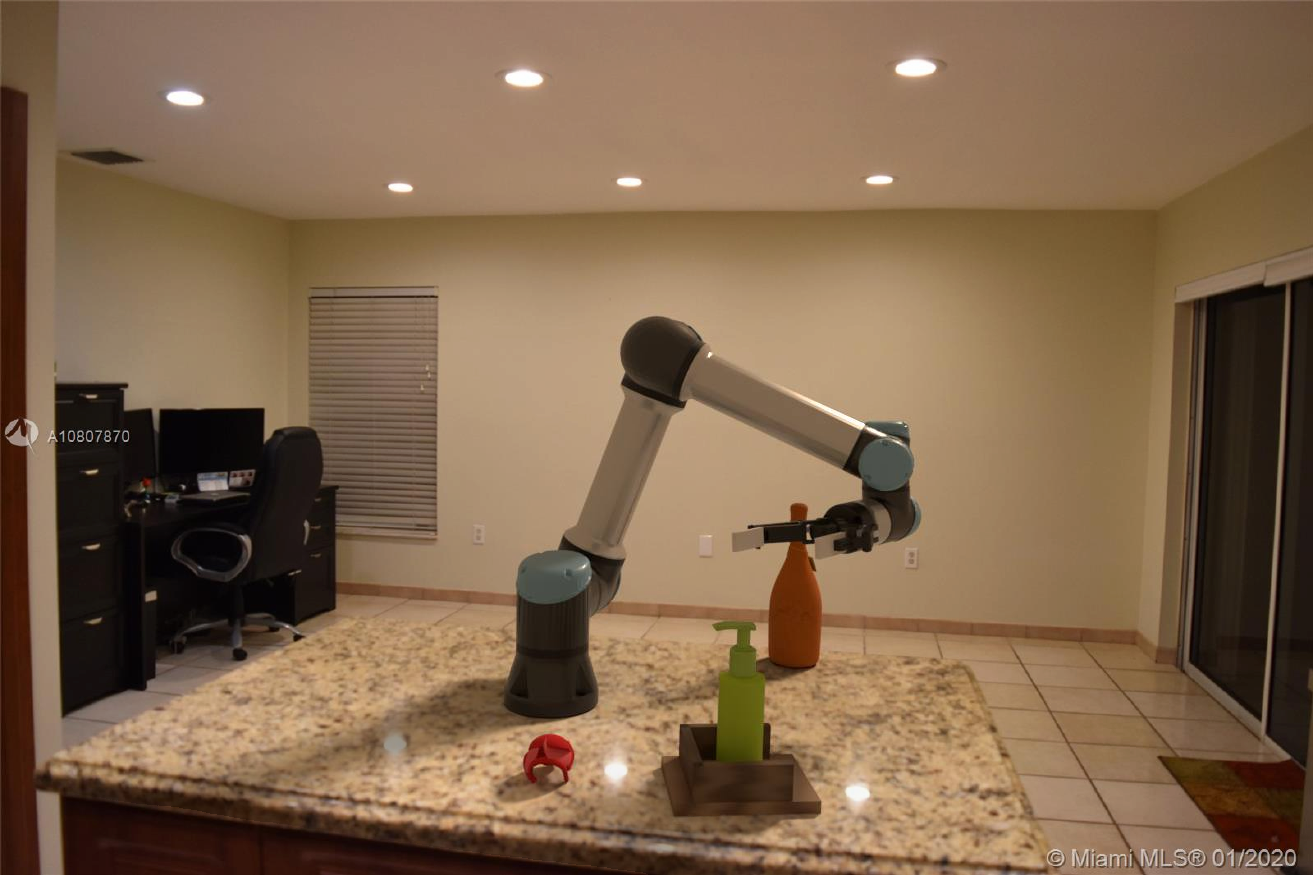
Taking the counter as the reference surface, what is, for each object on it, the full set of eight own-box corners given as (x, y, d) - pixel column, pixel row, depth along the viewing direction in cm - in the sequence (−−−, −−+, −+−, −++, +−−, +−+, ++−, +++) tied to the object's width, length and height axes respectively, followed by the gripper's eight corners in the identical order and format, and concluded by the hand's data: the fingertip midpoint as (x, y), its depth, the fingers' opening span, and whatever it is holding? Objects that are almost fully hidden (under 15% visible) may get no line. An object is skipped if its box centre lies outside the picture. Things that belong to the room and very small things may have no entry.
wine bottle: (819, 672, 164) (825, 508, 163) (765, 667, 166) (770, 505, 165) (820, 656, 174) (826, 501, 172) (769, 652, 176) (774, 498, 174)
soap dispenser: (704, 766, 119) (709, 616, 118) (756, 766, 119) (762, 616, 118) (711, 786, 113) (716, 628, 112) (765, 786, 113) (771, 629, 112)
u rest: (673, 816, 108) (675, 767, 108) (661, 766, 122) (662, 723, 122) (821, 813, 110) (822, 765, 110) (791, 764, 124) (793, 721, 123)
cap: (580, 766, 114) (584, 727, 119) (535, 754, 112) (541, 714, 117) (557, 801, 118) (562, 761, 123) (514, 789, 117) (520, 749, 122)
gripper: (933, 556, 129) (857, 581, 114) (787, 545, 146) (704, 565, 131) (931, 504, 129) (854, 522, 114) (785, 499, 146) (701, 514, 131)
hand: (774, 545), depth 122 cm, fingers open, 13 cm apart
